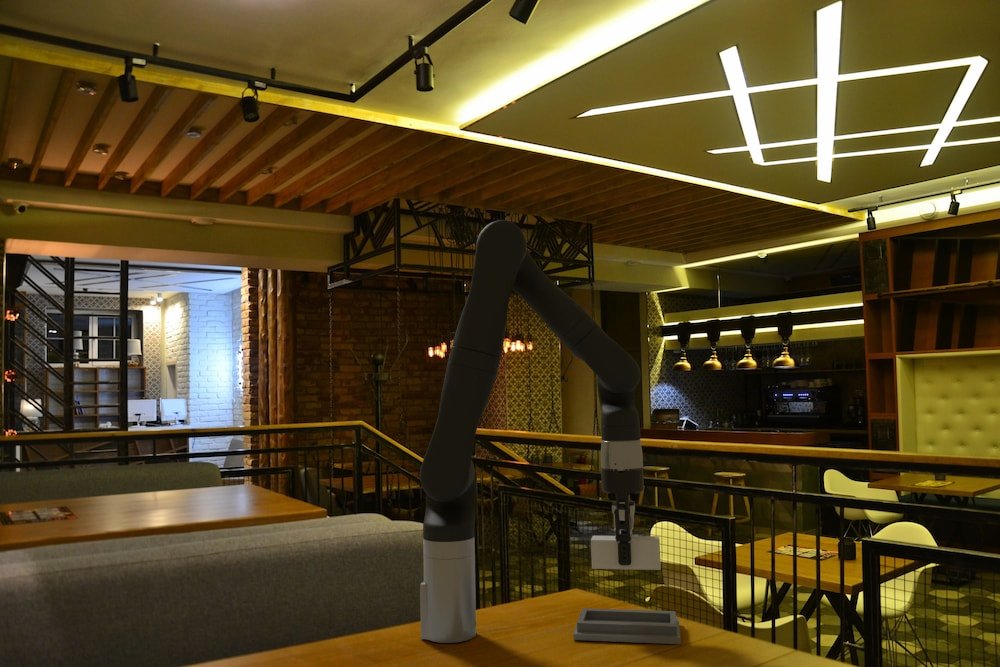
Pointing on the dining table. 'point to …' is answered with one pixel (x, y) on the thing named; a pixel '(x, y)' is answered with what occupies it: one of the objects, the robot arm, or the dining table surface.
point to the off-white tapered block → (642, 553)
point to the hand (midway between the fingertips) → (625, 561)
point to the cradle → (628, 626)
